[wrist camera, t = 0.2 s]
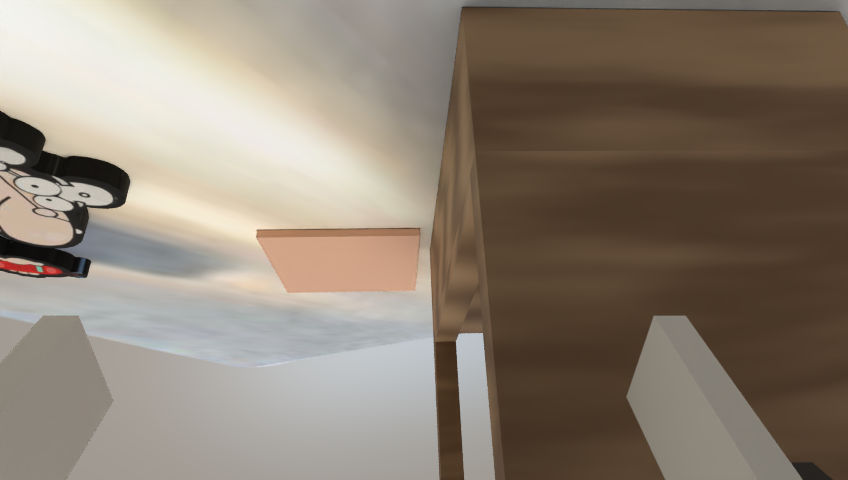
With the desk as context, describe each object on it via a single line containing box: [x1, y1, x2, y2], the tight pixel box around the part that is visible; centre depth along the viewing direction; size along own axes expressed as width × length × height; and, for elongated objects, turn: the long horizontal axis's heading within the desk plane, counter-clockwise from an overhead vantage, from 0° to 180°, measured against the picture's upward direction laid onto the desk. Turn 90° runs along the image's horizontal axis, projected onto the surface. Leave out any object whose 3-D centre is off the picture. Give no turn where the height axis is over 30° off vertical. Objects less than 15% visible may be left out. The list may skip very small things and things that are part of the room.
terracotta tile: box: [256, 229, 420, 293], centre depth 44 cm, size 12×12×1 cm
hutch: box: [430, 7, 848, 480], centre depth 27 cm, size 24×16×26 cm, turn 177°
